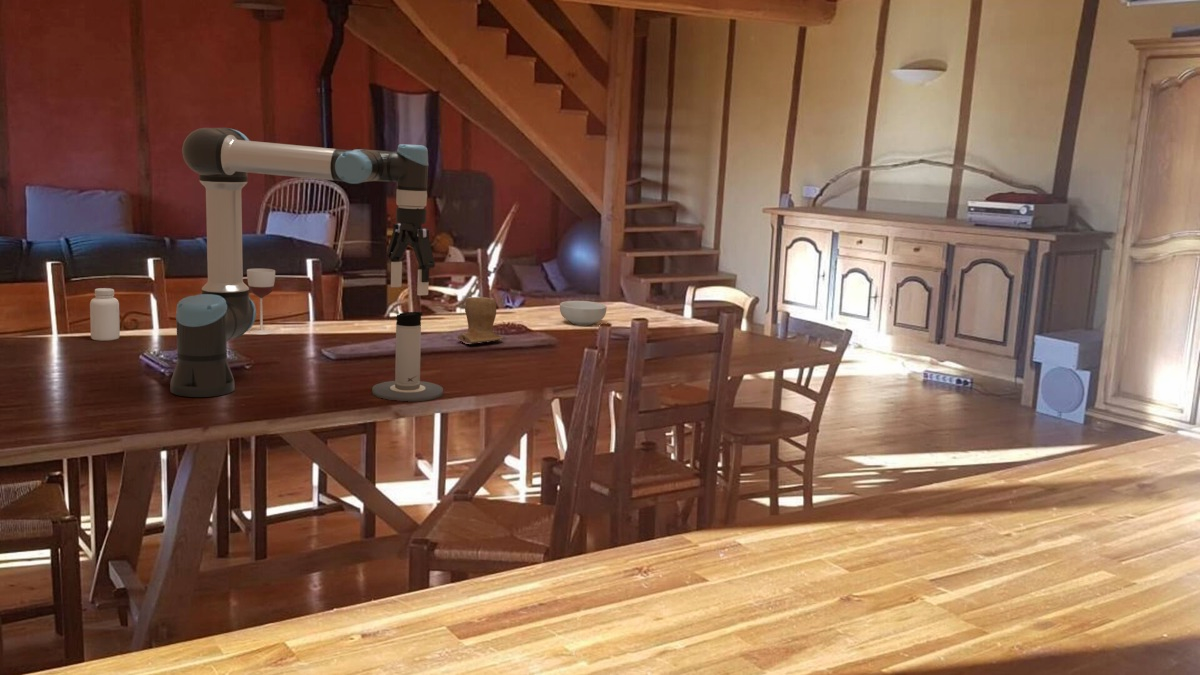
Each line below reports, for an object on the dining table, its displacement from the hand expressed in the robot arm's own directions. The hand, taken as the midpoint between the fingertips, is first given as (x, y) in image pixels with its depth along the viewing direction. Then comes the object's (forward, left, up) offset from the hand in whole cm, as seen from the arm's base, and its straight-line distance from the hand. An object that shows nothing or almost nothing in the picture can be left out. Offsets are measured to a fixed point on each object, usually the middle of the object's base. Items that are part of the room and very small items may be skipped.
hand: (409, 291), depth 277 cm
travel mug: (0, 0, -25) cm, 25 cm away
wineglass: (-2, +91, -27) cm, 95 cm away
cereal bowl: (+107, +63, -27) cm, 127 cm away
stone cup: (+53, +49, -27) cm, 77 cm away
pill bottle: (-47, +99, -27) cm, 113 cm away
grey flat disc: (0, 0, -27) cm, 27 cm away
